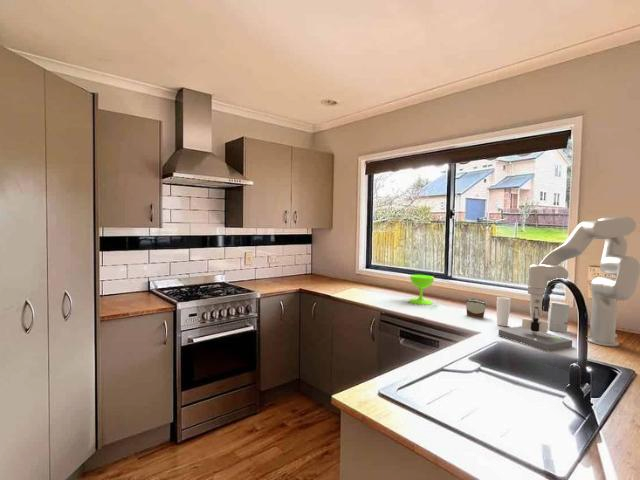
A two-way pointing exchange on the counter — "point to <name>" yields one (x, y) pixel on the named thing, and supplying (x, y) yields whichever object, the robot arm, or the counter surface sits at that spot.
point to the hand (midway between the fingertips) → (534, 329)
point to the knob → (542, 327)
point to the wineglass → (421, 287)
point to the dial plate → (535, 338)
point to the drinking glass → (503, 310)
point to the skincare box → (558, 316)
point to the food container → (475, 307)
